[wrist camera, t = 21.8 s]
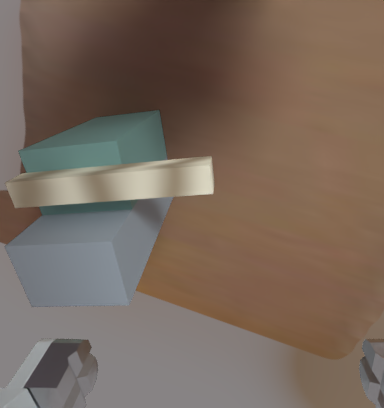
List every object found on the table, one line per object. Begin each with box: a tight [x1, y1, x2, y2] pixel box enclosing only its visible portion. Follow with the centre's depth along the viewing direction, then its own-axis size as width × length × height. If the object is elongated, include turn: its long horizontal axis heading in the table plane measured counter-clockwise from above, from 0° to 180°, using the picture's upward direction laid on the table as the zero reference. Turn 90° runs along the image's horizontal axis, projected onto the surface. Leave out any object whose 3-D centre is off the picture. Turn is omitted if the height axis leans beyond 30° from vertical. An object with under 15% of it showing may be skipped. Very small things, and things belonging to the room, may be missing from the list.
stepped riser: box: [5, 110, 173, 307], centre depth 37 cm, size 10×14×25 cm
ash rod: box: [5, 156, 214, 208], centre depth 28 cm, size 19×3×3 cm, turn 97°
